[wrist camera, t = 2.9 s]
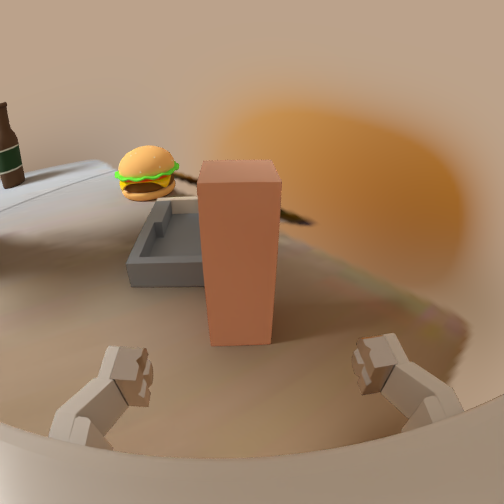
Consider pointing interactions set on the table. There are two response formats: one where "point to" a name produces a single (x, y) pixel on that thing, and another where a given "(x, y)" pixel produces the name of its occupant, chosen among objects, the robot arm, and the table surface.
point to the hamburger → (147, 173)
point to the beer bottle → (9, 153)
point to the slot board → (168, 246)
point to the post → (239, 248)
